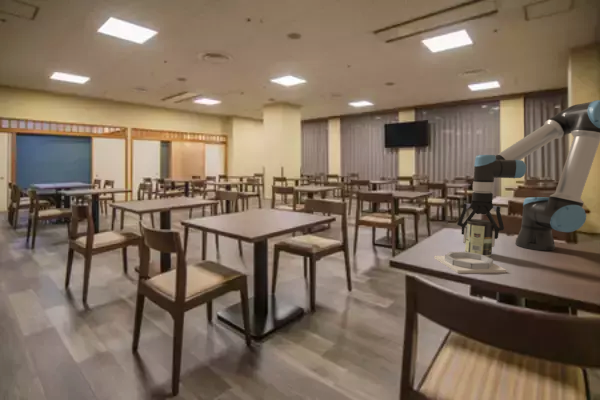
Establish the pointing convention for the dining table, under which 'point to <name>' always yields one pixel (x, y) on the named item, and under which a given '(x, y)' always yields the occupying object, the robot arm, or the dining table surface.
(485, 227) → the coffee can
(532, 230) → the robot arm
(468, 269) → the can holder
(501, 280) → the dining table surface
